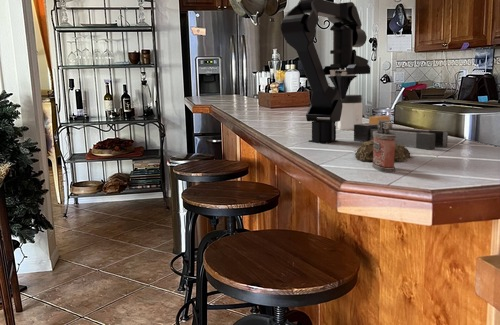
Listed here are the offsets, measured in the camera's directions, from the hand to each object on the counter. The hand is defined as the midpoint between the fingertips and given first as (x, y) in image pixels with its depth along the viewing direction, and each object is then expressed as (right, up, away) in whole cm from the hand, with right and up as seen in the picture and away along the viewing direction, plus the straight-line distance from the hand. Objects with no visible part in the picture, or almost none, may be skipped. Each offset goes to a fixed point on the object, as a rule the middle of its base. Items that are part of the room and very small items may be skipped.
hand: (342, 98), depth 148 cm
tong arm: (+16, -14, -16) cm, 27 cm away
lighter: (-1, -21, -47) cm, 52 cm away
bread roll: (+2, -19, -35) cm, 40 cm away
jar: (+8, -8, +26) cm, 28 cm away
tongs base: (+13, -15, -15) cm, 24 cm away
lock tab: (+9, -8, -10) cm, 15 cm away
